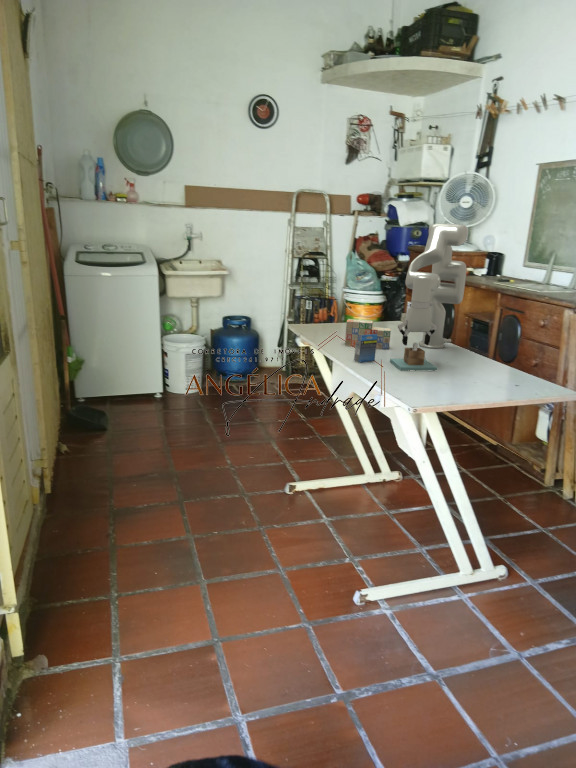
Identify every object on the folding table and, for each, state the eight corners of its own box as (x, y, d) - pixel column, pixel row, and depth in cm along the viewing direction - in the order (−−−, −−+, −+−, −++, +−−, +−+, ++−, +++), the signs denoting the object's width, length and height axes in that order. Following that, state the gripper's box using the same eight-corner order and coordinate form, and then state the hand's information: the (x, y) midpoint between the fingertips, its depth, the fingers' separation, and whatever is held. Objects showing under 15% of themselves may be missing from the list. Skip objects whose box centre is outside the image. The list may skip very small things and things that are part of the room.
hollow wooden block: (417, 360, 242) (419, 347, 241) (423, 365, 236) (425, 351, 234) (403, 360, 242) (404, 347, 240) (408, 365, 235) (410, 351, 234)
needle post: (414, 362, 240) (416, 342, 237) (416, 363, 238) (418, 343, 235) (410, 362, 240) (412, 342, 237) (411, 363, 238) (414, 343, 235)
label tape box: (369, 358, 249) (372, 331, 245) (375, 360, 245) (377, 333, 241) (353, 360, 244) (356, 333, 241) (359, 362, 241) (361, 335, 237)
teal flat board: (424, 361, 247) (424, 358, 247) (436, 370, 234) (437, 367, 234) (389, 361, 245) (390, 358, 244) (400, 370, 231) (401, 367, 231)
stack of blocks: (389, 347, 272) (391, 322, 269) (388, 349, 266) (391, 324, 263) (346, 342, 277) (348, 318, 273) (344, 345, 271) (346, 320, 267)
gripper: (436, 303, 236) (431, 342, 242) (397, 303, 234) (393, 342, 239) (443, 306, 229) (438, 346, 235) (403, 306, 227) (399, 347, 232)
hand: (415, 344), depth 237 cm, fingers open, 9 cm apart
